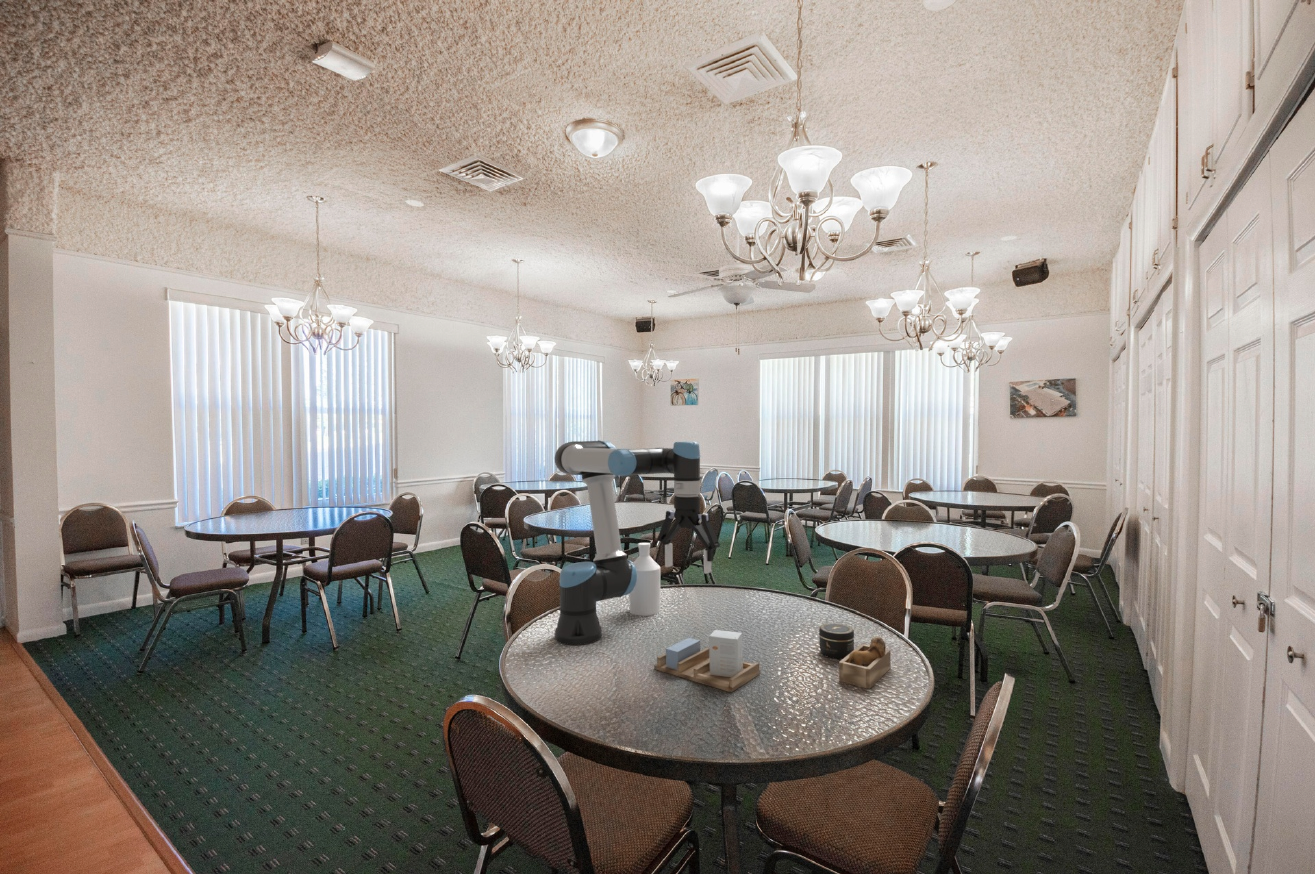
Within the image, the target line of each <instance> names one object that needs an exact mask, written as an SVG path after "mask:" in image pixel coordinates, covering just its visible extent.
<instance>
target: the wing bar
mask: <svg viewBox="0 0 1315 874" xmlns="http://www.w3.org/2000/svg"><path fill="white" fill-rule="evenodd" d="M700 651H701V640H700V639H694V638H691V637H687V638H686V639H682V640H681V641H679V642H677V643H674V644H673V645H671V646H669V647H666V648H665V653H666V667H669V668H672V669H676V670H677V663H679V662H680V661H682V660H684V659H686V658H688V657H690V656H692V655H694V654H696V653H698V652H700Z"/></svg>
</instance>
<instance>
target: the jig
mask: <svg viewBox="0 0 1315 874" xmlns="http://www.w3.org/2000/svg"><path fill="white" fill-rule="evenodd" d="M654 670H657V671H660V672H663V673H666V674H670V675H673V676H676V677H680V678H683V679H686V680H690V681H692V682H696V683H700V684H703V685H706V686H710V687H712V688H716V689H718V690H722V691H726V692H727V693H728V692H729V693H734V692H735V691H737V689H739V688H741V687H742V686H743V685H745V684H747V683H748V682H750V681H751V680H753V679H754V678H756V677H757V676H758V675H760V674H761V669H760V662H757V661H755V662H754V663H750V662H746V661H743V671H741V672H739V673H738V674H736V675H735V676H733V677H732V678H731V677H723V676H716V675H710V660H709V646H707V647H706V648H704V649H701V650H700V652H698V653H696V654H694V655H692V656H690V657H688V658H686V659H684V660H682V661H680V662H679V663H677V670H676V669H672V668H669V667H666V652H665V653H663V654H661V655H659V656H657V657H656V664H655V665H654Z"/></svg>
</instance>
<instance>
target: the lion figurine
mask: <svg viewBox="0 0 1315 874" xmlns="http://www.w3.org/2000/svg"><path fill="white" fill-rule="evenodd" d="M869 646H870V648H869V649H868V650H866V651H853V652H851V653H850V656H849V659H848V663H851V664H854V663H855V665H860V666H863V665H865V666H867V667H868V666H869V665H870V664H871V663H872V662H873V661H874V660H875V659H877V658H878V657H883V656H884V655H885V651H886V649H887V648H886V641H885V640H884V639H883V638H882V637H879V636H875V637H873V638H871V639H870V645H869ZM883 658H884V657H883ZM862 664H863V665H862Z"/></svg>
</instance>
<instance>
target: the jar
mask: <svg viewBox="0 0 1315 874" xmlns="http://www.w3.org/2000/svg"><path fill="white" fill-rule="evenodd" d="M818 629H819V630H818V631H819V632H818V637H819V643H818V644H819V650H820V652H821V654H822V655H823V656H824V657H827V658H829V659H835V660H842V659H844V658H845V657H846V656H847V655H849V654H850V653H851V652H852V651H853V650H855V631H854V628H853V627H851V626H849V625H847V624H843V623H836V622H835V623H829V622H828V623H824V624H822V625H820V626H819V628H818Z"/></svg>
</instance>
